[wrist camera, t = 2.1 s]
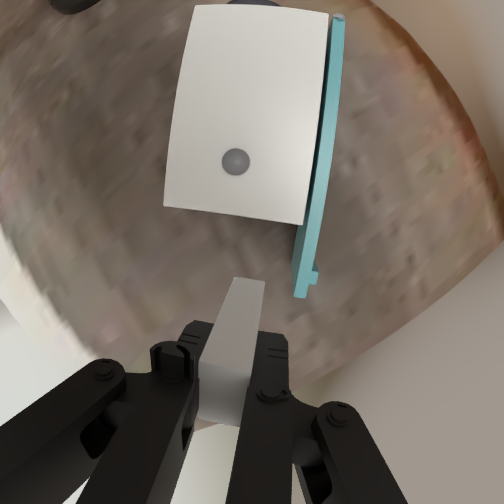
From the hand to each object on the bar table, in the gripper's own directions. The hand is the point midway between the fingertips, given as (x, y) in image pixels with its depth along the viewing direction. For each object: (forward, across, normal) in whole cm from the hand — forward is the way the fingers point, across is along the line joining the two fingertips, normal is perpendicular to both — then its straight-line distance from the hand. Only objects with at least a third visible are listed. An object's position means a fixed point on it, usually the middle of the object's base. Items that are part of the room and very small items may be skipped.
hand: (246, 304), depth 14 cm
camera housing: (+18, -3, +12) cm, 21 cm away
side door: (+17, +4, +9) cm, 19 cm away
